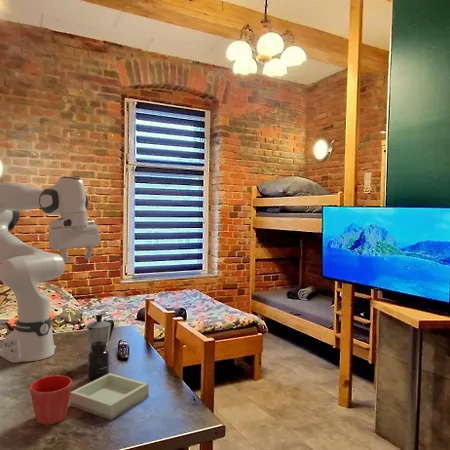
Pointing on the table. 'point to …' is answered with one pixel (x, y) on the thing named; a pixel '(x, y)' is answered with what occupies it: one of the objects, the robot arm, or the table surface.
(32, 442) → the table surface
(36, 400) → the flower pot
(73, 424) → the table surface
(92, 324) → the coffee maker
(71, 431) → the table surface
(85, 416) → the table surface
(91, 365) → the supplement bottle
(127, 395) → the tray
